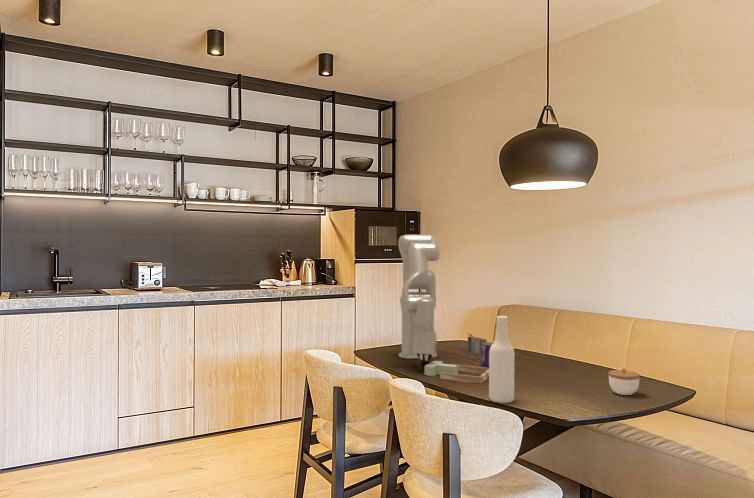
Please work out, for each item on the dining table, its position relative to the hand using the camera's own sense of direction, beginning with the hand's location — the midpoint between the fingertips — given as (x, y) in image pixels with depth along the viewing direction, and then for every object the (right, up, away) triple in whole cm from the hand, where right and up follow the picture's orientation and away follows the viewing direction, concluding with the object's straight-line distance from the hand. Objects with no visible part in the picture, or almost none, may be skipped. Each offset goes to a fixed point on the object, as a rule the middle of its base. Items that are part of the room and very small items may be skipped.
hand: (424, 369), depth 248 cm
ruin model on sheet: (+30, -1, +44) cm, 54 cm away
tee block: (+7, -1, -4) cm, 8 cm away
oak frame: (+16, -1, -8) cm, 18 cm away
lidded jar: (+71, -2, -34) cm, 79 cm away
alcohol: (+24, -2, -43) cm, 50 cm away
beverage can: (+28, -2, +2) cm, 28 cm away
